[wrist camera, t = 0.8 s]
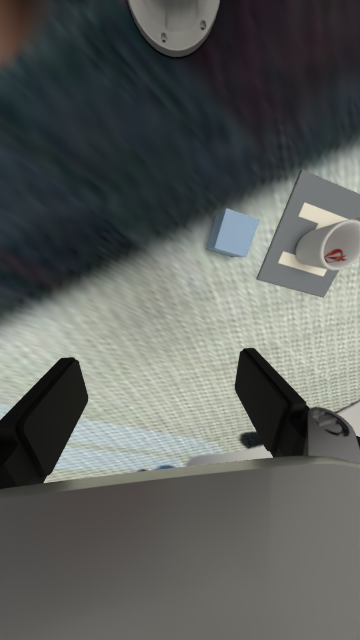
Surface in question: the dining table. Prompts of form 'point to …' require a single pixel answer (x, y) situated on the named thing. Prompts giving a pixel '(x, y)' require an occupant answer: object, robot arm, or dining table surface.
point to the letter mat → (297, 220)
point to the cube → (232, 233)
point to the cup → (331, 245)
